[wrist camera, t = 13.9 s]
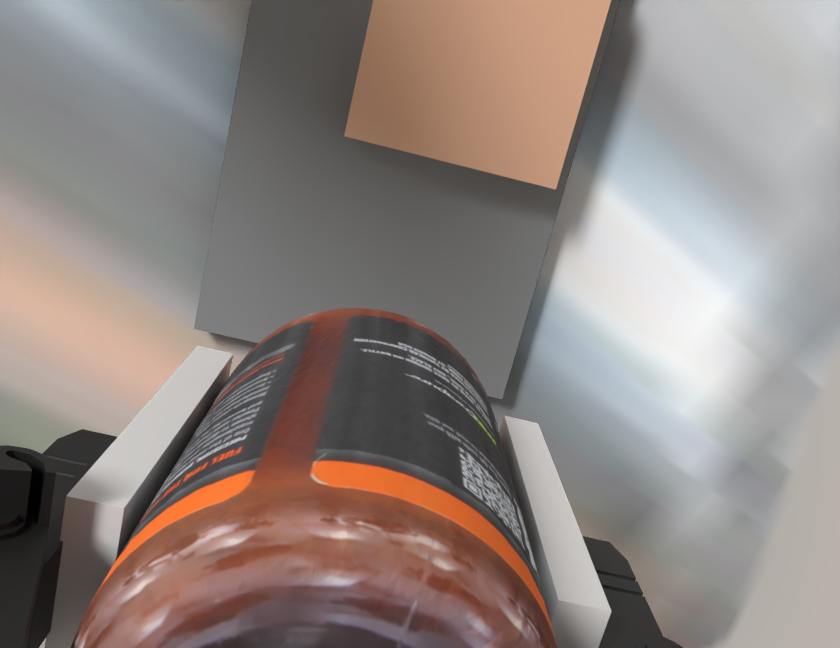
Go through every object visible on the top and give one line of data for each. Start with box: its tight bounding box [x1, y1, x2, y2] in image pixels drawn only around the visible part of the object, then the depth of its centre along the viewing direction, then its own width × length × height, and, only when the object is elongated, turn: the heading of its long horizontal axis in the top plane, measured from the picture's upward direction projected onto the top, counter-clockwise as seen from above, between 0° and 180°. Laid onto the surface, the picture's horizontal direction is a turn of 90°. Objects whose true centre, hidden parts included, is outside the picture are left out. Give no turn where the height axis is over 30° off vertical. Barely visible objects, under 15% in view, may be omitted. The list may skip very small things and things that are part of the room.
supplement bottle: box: [71, 308, 557, 648], centre depth 12 cm, size 6×6×11 cm
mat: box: [194, 0, 620, 399], centre depth 31 cm, size 18×13×1 cm
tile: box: [344, 0, 611, 189], centre depth 28 cm, size 8×2×8 cm
